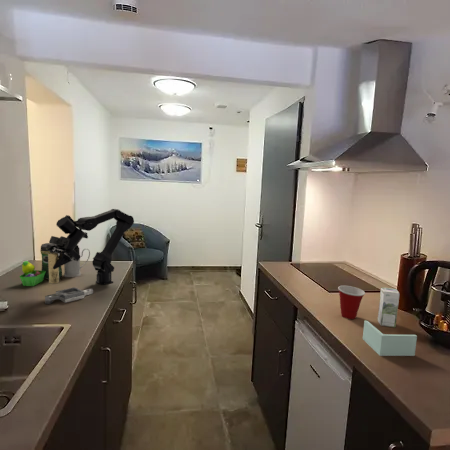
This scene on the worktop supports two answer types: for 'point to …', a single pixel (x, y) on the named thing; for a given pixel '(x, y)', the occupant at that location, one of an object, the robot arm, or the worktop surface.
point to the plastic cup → (350, 301)
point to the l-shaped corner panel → (389, 342)
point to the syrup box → (388, 307)
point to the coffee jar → (45, 260)
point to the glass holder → (74, 266)
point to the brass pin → (52, 272)
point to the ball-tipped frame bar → (68, 295)
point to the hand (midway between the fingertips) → (50, 267)
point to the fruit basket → (31, 274)
